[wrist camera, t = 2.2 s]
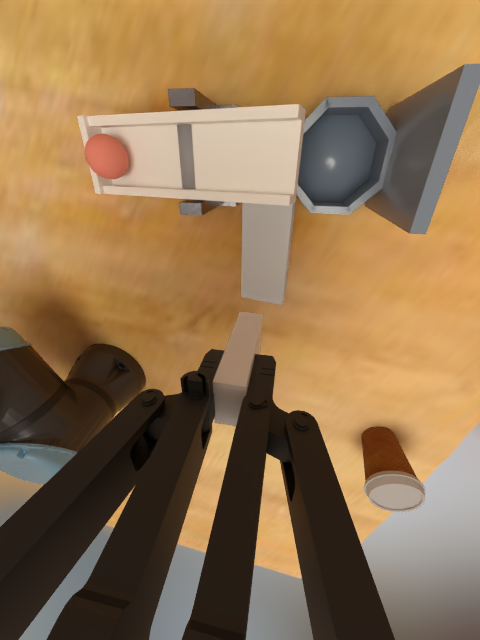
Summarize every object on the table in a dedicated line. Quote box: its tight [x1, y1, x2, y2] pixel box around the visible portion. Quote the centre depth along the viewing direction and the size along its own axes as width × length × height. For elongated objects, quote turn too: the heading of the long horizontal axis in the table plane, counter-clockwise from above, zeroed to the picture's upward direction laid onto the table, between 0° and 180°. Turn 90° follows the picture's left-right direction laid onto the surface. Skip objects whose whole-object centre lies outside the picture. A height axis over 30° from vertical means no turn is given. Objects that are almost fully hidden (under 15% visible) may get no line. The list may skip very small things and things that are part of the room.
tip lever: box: [77, 104, 306, 305], centre depth 29 cm, size 22×18×4 cm
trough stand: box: [168, 88, 238, 216], centre depth 31 cm, size 6×11×11 cm, turn 179°
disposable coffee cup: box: [362, 427, 425, 512], centre depth 50 cm, size 10×10×12 cm
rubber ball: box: [85, 134, 128, 179], centre depth 27 cm, size 4×4×4 cm
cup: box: [297, 64, 480, 234], centre depth 26 cm, size 12×11×16 cm
